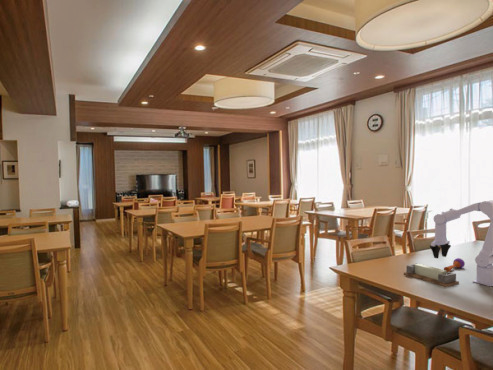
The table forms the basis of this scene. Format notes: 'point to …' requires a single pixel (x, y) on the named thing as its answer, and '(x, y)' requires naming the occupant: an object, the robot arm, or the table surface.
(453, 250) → the table surface
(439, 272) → the slat
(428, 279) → the cradle
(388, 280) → the table surface
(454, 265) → the brown piece
